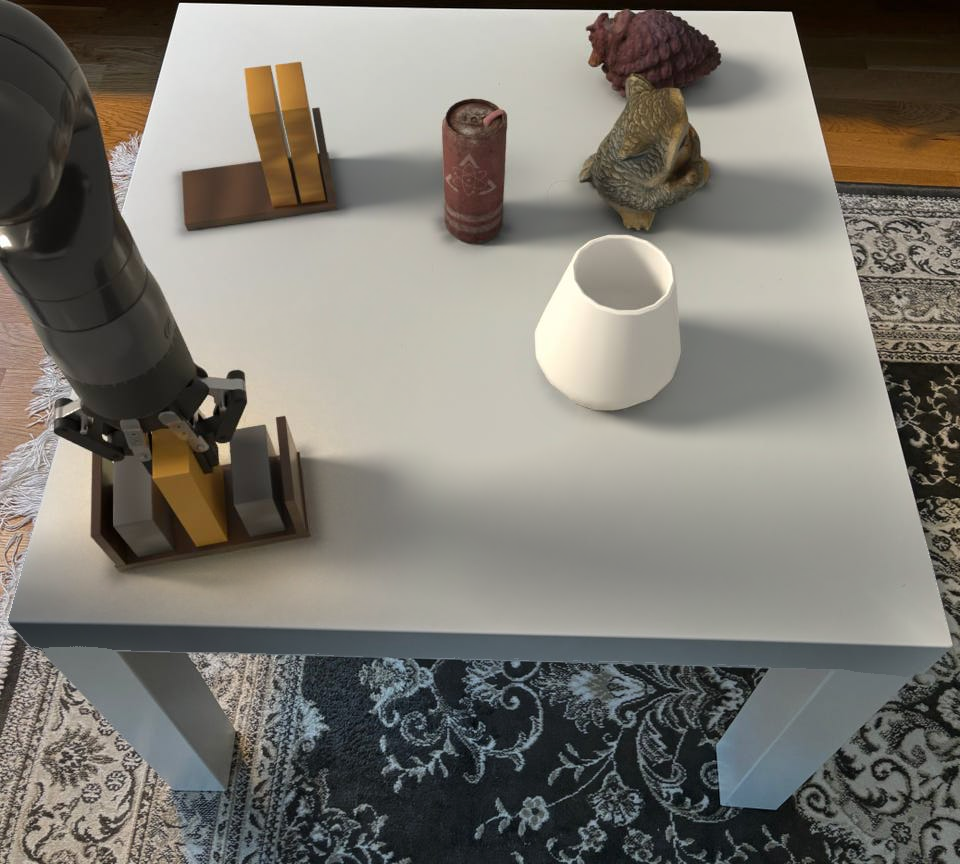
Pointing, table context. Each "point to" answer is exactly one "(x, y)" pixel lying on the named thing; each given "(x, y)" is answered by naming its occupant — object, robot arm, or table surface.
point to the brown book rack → (248, 498)
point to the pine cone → (651, 49)
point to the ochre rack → (267, 160)
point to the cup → (612, 325)
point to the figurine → (647, 155)
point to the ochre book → (190, 488)
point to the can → (474, 169)
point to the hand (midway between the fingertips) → (187, 466)
